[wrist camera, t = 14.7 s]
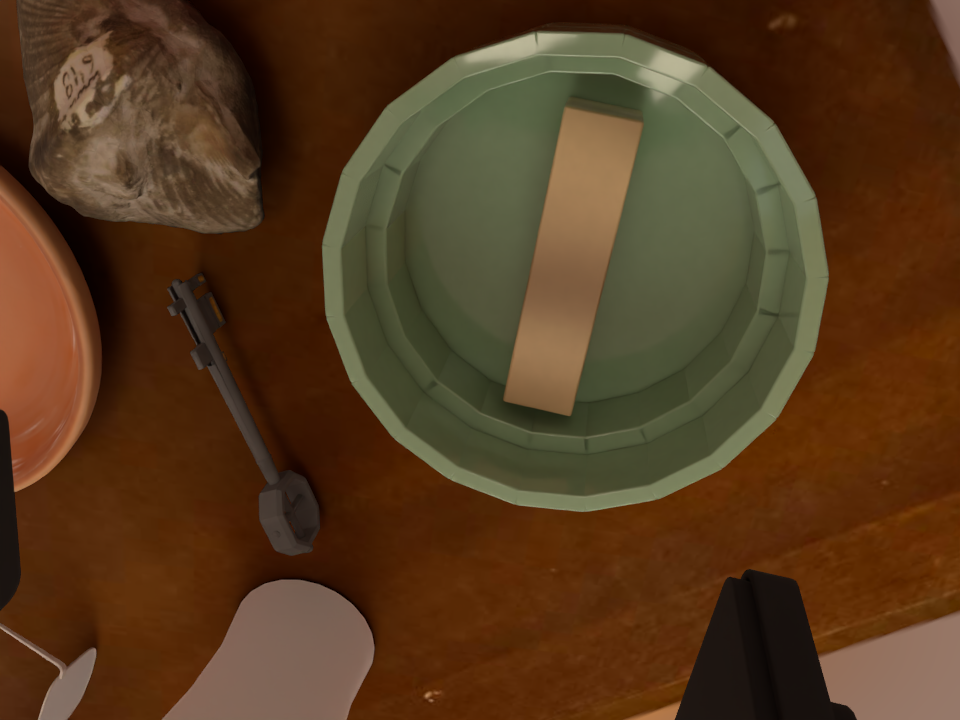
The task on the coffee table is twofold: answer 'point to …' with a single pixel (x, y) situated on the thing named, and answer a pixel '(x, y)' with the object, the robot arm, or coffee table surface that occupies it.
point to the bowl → (628, 285)
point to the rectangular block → (572, 252)
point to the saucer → (43, 337)
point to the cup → (284, 658)
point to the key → (249, 428)
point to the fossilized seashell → (141, 114)
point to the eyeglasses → (63, 681)
